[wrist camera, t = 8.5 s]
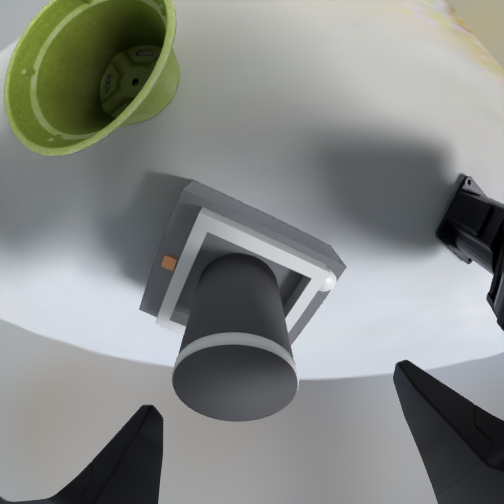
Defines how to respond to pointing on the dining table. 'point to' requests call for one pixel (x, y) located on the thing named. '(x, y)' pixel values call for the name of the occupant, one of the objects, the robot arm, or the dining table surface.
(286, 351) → the lens
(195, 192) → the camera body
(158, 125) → the dining table surface
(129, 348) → the dining table surface
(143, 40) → the plant pot
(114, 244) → the dining table surface
